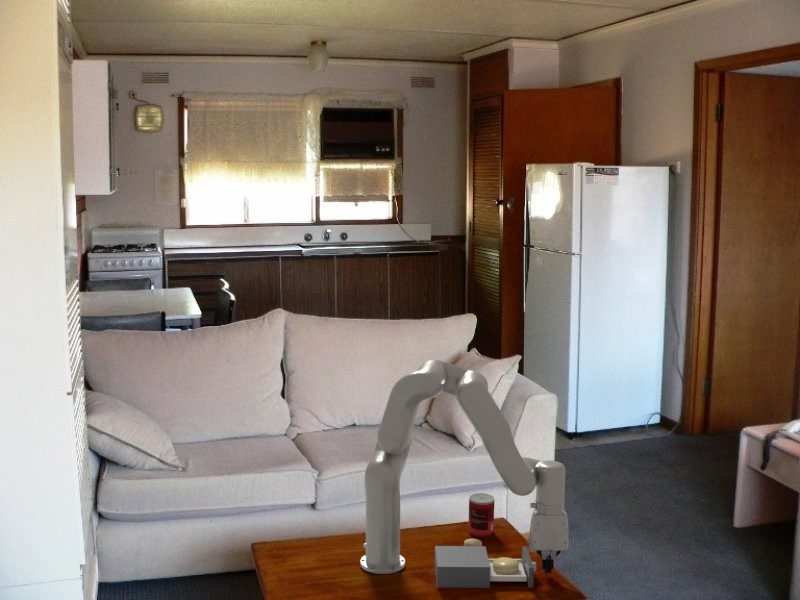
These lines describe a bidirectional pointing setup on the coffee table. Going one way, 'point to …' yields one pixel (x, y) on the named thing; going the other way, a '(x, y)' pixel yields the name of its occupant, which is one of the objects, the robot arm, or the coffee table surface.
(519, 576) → the drawer
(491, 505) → the canned food
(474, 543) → the beige rounded lump
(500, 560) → the cream domed disc
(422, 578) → the coffee table surface
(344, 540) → the coffee table surface
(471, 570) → the housing
